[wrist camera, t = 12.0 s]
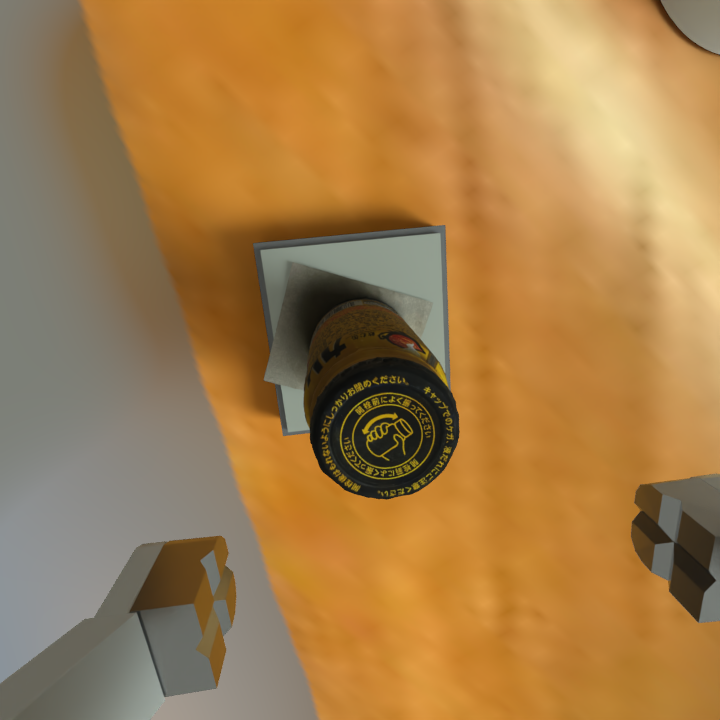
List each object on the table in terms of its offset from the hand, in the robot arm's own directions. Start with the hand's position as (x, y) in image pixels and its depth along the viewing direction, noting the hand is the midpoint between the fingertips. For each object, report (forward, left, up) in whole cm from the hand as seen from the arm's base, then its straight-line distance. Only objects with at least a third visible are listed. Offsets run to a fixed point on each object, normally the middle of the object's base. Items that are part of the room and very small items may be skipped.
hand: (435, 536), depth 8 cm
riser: (0, 0, -21) cm, 21 cm away
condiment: (0, -1, -18) cm, 18 cm away
